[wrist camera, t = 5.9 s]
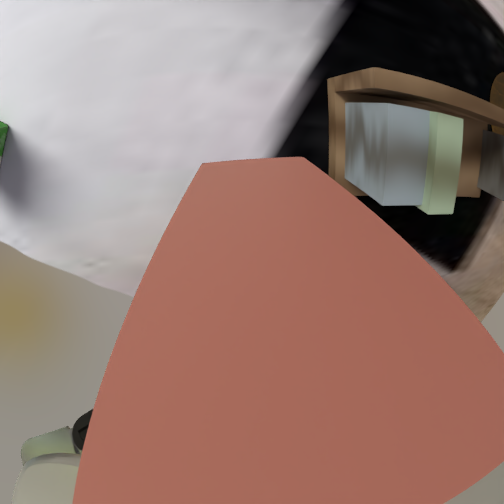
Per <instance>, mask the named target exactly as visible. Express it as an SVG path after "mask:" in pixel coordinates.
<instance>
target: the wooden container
mask: <svg viewBox="0 0 504 504" xmlns="http://www.w3.org/2000/svg"><path fill="white" fill-rule="evenodd" d="M490 103H492V104H494V105H496V106H498V107H500V108H502V109H504V72H503V73H500V74H499V75H498V76H496V78H495V79H494V82H493V84H492V88H491V94H490ZM492 131H493V132H494V133H497V134H500V135H503V136H504V128H501V127H498V126H494V125H492Z"/></svg>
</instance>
